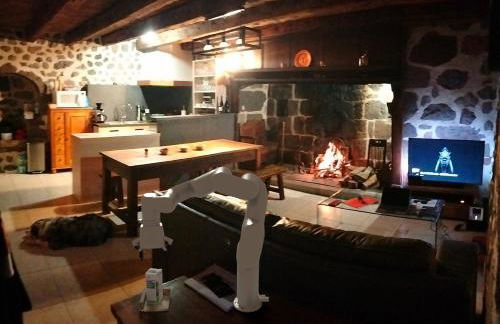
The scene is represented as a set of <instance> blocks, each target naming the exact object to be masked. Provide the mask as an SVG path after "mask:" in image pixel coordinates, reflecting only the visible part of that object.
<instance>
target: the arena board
mask: <svg viewBox="0 0 500 324" xmlns="http://www.w3.org/2000/svg"><path fill="white" fill-rule="evenodd" d="M142 289H143V290H142V293H141V296H140V299H139V312H140V311H142V313H143V311H144V312H145V313H146V312H165V311H169V308H170V303H171V286H164V287H163V299H162V300H161V302H160V303H159V304H158V305H157V304H150V303H147V295H146V287H144V288H142Z"/></svg>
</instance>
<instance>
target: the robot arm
mask: <svg viewBox="0 0 500 324" xmlns="http://www.w3.org/2000/svg"><path fill="white" fill-rule="evenodd" d="M267 190H268V189H267V186H266V185H265V183H264V181H263V179H261V178H260V177H259V176H258V175H256V174H255V173H251V172H248V173H247V172H246V173H245V174H243V175H242V176H241V177H239V176H236V175H233V173H232V171H231V170H230V169H229V167H227V166H220V167H219V166H218V167H217V168H214V169H213V170H210V171H208V172H206V173H204V174H202V175H200V176H198V177H195V178H193V179H190V180H188V181H184V182H182V183H180V184H177V185H175V186H173V187H171V188H168V189H167V190H166V191H164V193H163V194H162V195H159V194H158V193H156V192H146V193H143V194H142V195H141V197H140V204H141V206H140V207H141V219H138V223H139V224H140V223H141V225H140V227H139V237H138V238H135V239H133V240H132V242H131V244H132V246H133V247H134V249H136V251H137V252H138V254H139V255H138V256H139V259H140V261H143V260H144V250H145V249H146V250H147V249H162V256H163V257H162V259H163V260H166V258H167V257H168V250H169V248H170V247H171V245H172V243H173V241H174V239H172V238H170V237H168V236H165V232H164V226H163V223H162V222H161V214H162V213H163V214H170V213H172V212H174V211H175V209H176V208H177V206H178V204H179V203H181V202H184V201H186V200H188V199H192V198H199V199H200V198H201V199H202V198H203V197H206V196H208V195H210V194H213V193H215V192H218V193H220V194H223V195H226V196H229V197H233V198H236V199H239V200H244V201H247V202H246V203H247V204H246V209H245V214H244V219H243V222H242V225H241V233H240V239H239V241H238V243H237V247H236V256H235V257H236V266H237V267H236V269H237V270H236V297H235V298H234V300H233V307H234V309H236V310H238V311H240V312H243V313H251V312H255V311H258V310H260V308H261V307H262V304H263V302H265V303H266V302H267V303H268V302H269V301H270V300H269V299H270V298H269V296H266V294H259V277H260V276H259V274H260V271H259V270H260V258H261V254H262V250H263V245H264V239H265V233H266V232H265V218H266V215H267V207H268V201H269V199H268V198H269V197H268V191H267ZM166 242H168V243H167V244H166ZM138 243H139V244H138Z"/></svg>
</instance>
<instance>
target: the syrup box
mask: <svg viewBox="0 0 500 324" xmlns="http://www.w3.org/2000/svg"><path fill="white" fill-rule="evenodd" d="M145 288H146V295H147V303H150V304H157V305H158V304H159V303H160V302H161V300H162V299H163V269H162V268H159V269H158V268H151V267H150V268H149V269H148V270H147V271H146V272H145Z"/></svg>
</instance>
